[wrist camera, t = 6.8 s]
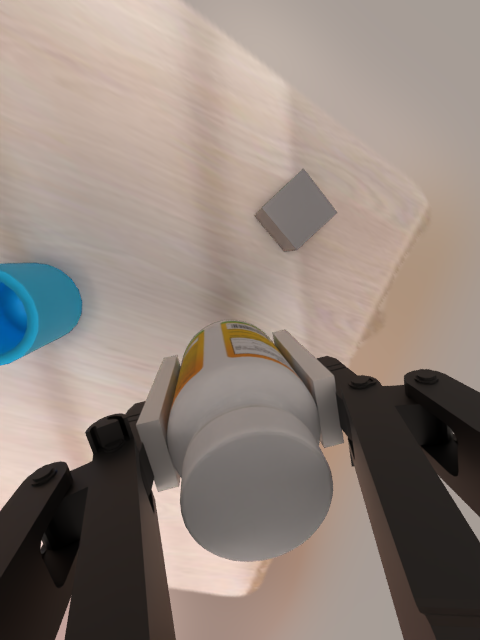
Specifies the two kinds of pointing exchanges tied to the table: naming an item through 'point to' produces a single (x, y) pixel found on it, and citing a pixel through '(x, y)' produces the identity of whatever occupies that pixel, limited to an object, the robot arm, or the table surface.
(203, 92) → the table surface
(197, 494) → the supplement bottle
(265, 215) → the charcoal cube
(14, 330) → the mug
